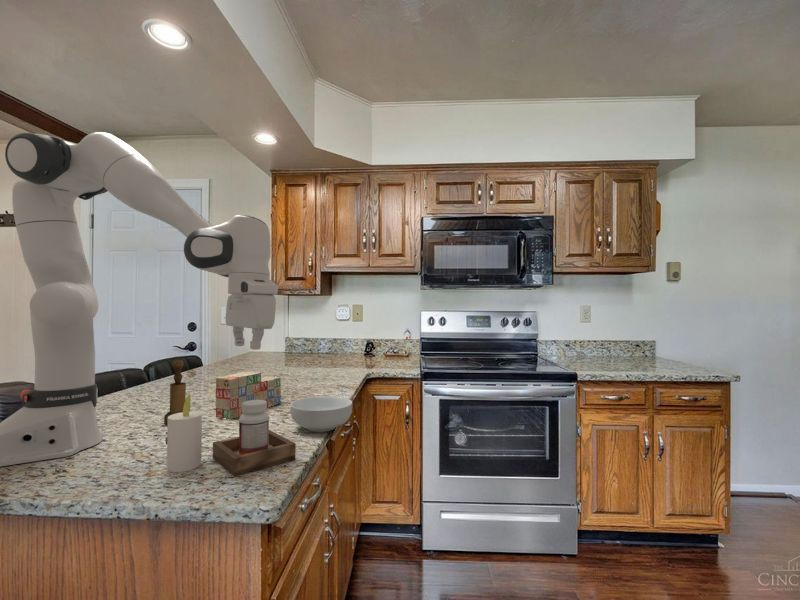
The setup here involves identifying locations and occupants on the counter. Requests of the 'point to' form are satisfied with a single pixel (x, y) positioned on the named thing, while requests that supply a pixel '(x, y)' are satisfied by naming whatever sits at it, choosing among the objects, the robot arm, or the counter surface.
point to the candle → (184, 439)
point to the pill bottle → (253, 427)
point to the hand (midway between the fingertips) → (247, 347)
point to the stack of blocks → (244, 392)
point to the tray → (253, 455)
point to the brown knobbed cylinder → (176, 391)
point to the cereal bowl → (321, 412)
